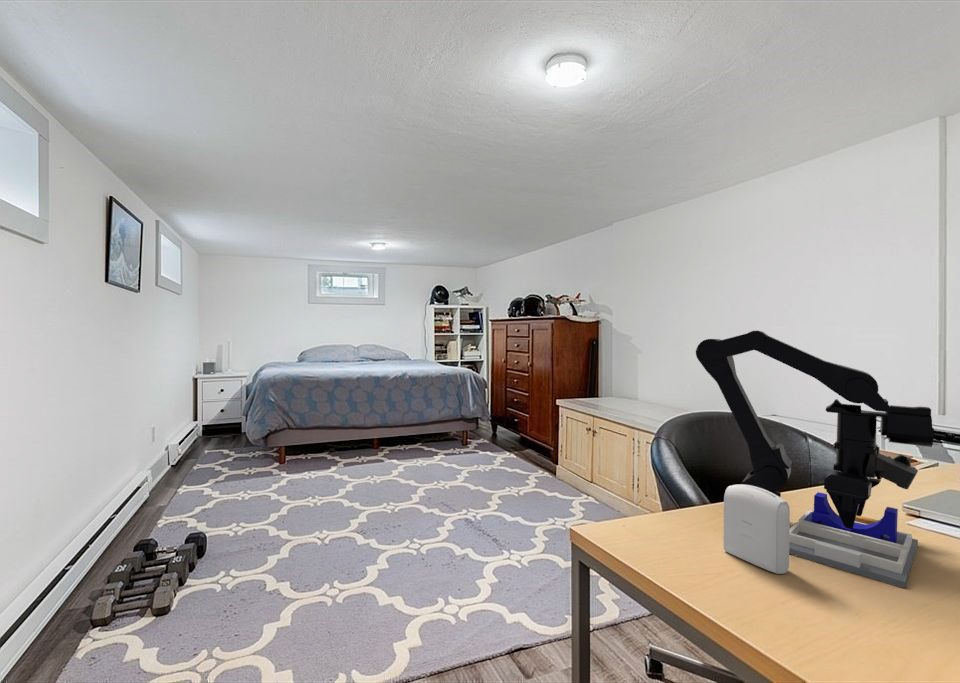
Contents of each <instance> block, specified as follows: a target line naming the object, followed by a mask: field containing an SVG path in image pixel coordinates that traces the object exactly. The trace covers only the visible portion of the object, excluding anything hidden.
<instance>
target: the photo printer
mask: <svg viewBox="0 0 960 683" xmlns="http://www.w3.org/2000/svg"><path fill="white" fill-rule="evenodd" d="M790 513H791V510H790V505H789V503H788V502H787V501H786V500H785V499H784V498H782V497H781V498H780V497H779V496H777V495H775V494H773V493H772V492H769V491H767V490H765V489H762V488H759V487H755V486H751V485H743V484H742V483H740V484H732V485H729V486H727V487H726V489H725V492H724V495H723V550H724V551H725V552H727V553H728V554H730V555H733V556H734V557H737V558H739V559H741V560H743V561H746V562H748V563H750V564H752V565H754V566H757V567H759V568H762V569H764V570H766V571H769V572H771V573H774V574H776V575H784V574H786V573H788V572H789V571H788V570H789V567H790V554H789V532H790V530H789V529H790V528H791V526H790V525H791V524H790V521H791V520H790V519H791V518H790V517H791V514H790Z"/></svg>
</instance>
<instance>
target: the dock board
mask: <svg viewBox="0 0 960 683" xmlns="http://www.w3.org/2000/svg"><path fill="white" fill-rule="evenodd" d="M813 511H814V510H810V509H809V510H807V511H806V512H805V513H804V514H803V515H802V516H801V517H800V518H799V519H798V521H796V522H795V523H794V524H793V525H791V526H790V529H789V530H790V532H789V555H793V556H795V557H799V558H802V559H806V560H808V561H812V562H816V563H820V564H822V565H827V566H829V567H832V568H836V569H838V570H842V571H845V572H848V573H852V574H856V575H860V576H863V577H866V578H868V579H873V580H876V581H879V582H882V583H885V584H890V585H893V586H896V587H900V588H901V589H902V588H903V589H906V588H907V584H908V580H909V576H910V573H911V569H912V567H913V562H914V560H915V556H916V553H917V549H918V545H919V540H918V539H917V538H916V539H915V538H913V534H911V533H907V532H903V531H898V530H897V542H896V543H893V542H889V541H885V540H881V539H877V538H873V537H869V536H865V535H861V534H857V533H853V532H849V531H845V530H841V529H837V528H833V527H829V526H825V525H821V524H817V523H813V522H812V512H813ZM879 520H880V519H875V518H870V517H865V516H862V515H861V516H857V515H856V519H855V522H854V523H855V524H860V525H868V524H873V523H876V522H878V521H879ZM883 536H884V537H886V538H890V537H889V536H888V535H884V534H883Z"/></svg>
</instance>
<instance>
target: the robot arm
mask: <svg viewBox="0 0 960 683" xmlns="http://www.w3.org/2000/svg"><path fill="white" fill-rule="evenodd" d="M751 351H756V352H758V353H760V354H763V355H765V356H767V357H769V358H771V359H774V360H776V361H778V362H780V363H783V364H785V365H786V366H788V367H790V368H792V369H795V370H797V371H800V372H801V373H804V374H806V375H808V376H809V377H812V378H814V379H816V380H817V381H818V382H820V383H821V384H823V385H824V386H826V387H827V388H828V389H829V390H831V391H832V392H834V393H836V394H837V395H838V396H840V397H841V398H843V399H844V400H846V401H847V402H850V403H853V404H847V403H842V402H841V401H839V399H838V398H836V399H834V400H833V402H832V403H830V404H829V405H827V406H825V412H827V413H833V414H834V413H835V414H837V416H836V417H837V418H836V423H837V424H836V441H835V442H834V443H833V449H836V452H835V454H836V455H835V456H836V457H835V463H834V464H833V471H832V472H830V473H829V474H828V475H826V476H825V477H824V478H823V488H824V490H825V491H826V494H827V493H828V494H827V495H829V497H830V499H831V501H832V503H833V505H834V507H835V509H836V511H837V512H836V513H838V514H837V515H839V516H840V518H841V520H842V522H843V524H844V527H845V528H848V529H853V526H854V522H855V519H856V515H857V516H862V515H863V512H864V509H865V506H866V502H867V500H869V499H870V497H871V495H872V488H874V487H876V486H878V485H879V484H880V483H881V481H882V479H884V480H887V481H888V482H891V483H893V484H895V485H896V486H897V487H899V488H901V489H904V490H909V488H910V486H911V485H912V483H913V481H914V480H915V477H916V476H917V474H918V469H917V468H916V467H915V466H912V463H911V458H910V457H907V455H903V454H898V455H896V456H895V457H893V458H892V457H891V456H890V455H889V456H886V455H884V454H882V453H880V446H879V445H878V444H877V419H878V418H880V436H882V437H885V436H886V439H887V440H888V443H893V444H902V445H903V444H904V445H909V446H910V445H911V446H920V447H928V448H932V447H933V445H934V436H935V429H934V427H933V418H932V409H931V408H930V407H928V406H902V405H894V404H893V405H891V404H889V400H888V399H887V398H883V397H882V396H881V394H880V392H879V384H878V382H877V381H876V379H875V378H874V377H873V376H872V375H871V374H870V373H868V372H866V371H863V370H860V369H856V368H852V367H849V366H845V365H841V364H837V363H834V362H830V361H827V360H824V359H821V358H820V357H817V356H815V355H813V354H810V353H808V352H806V351H803V350H801V349H799V348H797V347H794V346H792V345H791V344H788V343H786V342H783V341H782V340H779V339H776V338H774V337H772V336H770V335H768V334H766V333H765V332H764V331H761V330H752V331H749V332H747V333H743V334H740V335H736V336H732V337H728V338H724V339H720V338H707V339H704V340H702V341H701V342H700V343H698V345H697V346H696V349H695V356H696V358H697V360H698V362H699V363H700V364H701V366H702V367H703V368H704V370H705V371H706V372H707V374H708V375H710V377H711V378H712V379H713V380H714V381H715V382H716V384H717V385H718V387H719V389H720V391H721V394H722V395H723V398H724V399H725V401H726V404H727V405H728V408H729V410H730V412H731V415H732V416H733V418H734V420H735V422H736V424H737V426H738V428H739V430H740V431H741V432H740V433H741V434H742V436H743V438H744V440H745V442H746V444H747V447H748V454H749V458H750V463H751V466H752V467H751V468H752V470H751V471H749V472H748V473H747V475H746V476H745V477H744V479H743V480H742V482H741V484H743V485H751V486H755V487H759V488H762V489H765V490H767V491H769V492H772V493H773V494H775V495H777V496H779V497H780V498H782V496H781V495H782V494H781V492H780V491H778V490H776V489H780V488H783V487H784V486H785V485H786V484H787V482H788V480H789V478H790V476H791V471H792V467H791V466H792V462H793V461H792V459H791V458H789V456H788V455H787V452H786V450H785V447H784V444H783V443H782V442H781V443H778V444H776V445H775V443H774V442H773V441H772V440H771V439H770V438H769V436H768V434H767V433H766V431H765V428H764V427H763V425H762V423H761V421H760V419H759V417H758V415H757V413H756V411H755V408H754V407H753V405H752V403H751V401H750V399H749V397H748V395H747V393H746V391H745V389H744V387H743V385H742V383H741V381H740V379H739V377H738V374H737V370H736V365H735V360H734V357H733V356H737V355H740V354H741V355H742V354H745V353H748V352H751ZM859 404H860V405H859ZM861 404H864V405H866V406H867V407H869V408H870V409H872V410H873V411H872V410H863V409H862V405H861Z"/></svg>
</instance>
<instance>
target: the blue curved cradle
mask: <svg viewBox="0 0 960 683" xmlns="http://www.w3.org/2000/svg"><path fill="white" fill-rule="evenodd" d="M828 499H829V498H828V494H827V493H824V492H819V491H818V492H816V493H815V494H814V496H813V510H812V511H813V512H812V522H813V523H817V524H821V525H825V526H829V527H833V528H837V529H841V530H845V531H849V532H853V533H857V534H861V535H865V536H869V537H873V538H877V539H881V540H885V541H889V542H893V543H896V542H897V531H898V513H899V510H898V508H895V507H890V506H886V508H885V509H884V514H883V516H882V518H880V519H878V520H879V521H878V522H876V523H873V524H868V525H860V524H855V523H854V526H853V529H848V528H845V527H844V524H843V522H842V520H841V518H840V516H839V514H837V512H835V510H834V509H833V508H832V507H831V506H832V505H831V504H830V502H829V500H828ZM883 534H884V535H888V536H889V537H890V538H886V537H884V536H883Z"/></svg>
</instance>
